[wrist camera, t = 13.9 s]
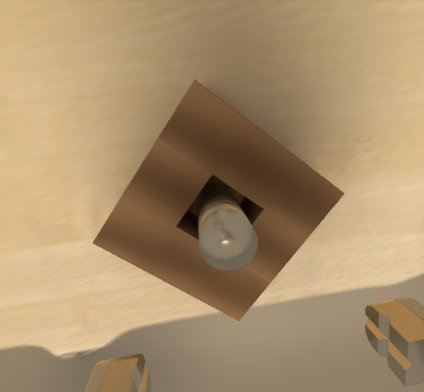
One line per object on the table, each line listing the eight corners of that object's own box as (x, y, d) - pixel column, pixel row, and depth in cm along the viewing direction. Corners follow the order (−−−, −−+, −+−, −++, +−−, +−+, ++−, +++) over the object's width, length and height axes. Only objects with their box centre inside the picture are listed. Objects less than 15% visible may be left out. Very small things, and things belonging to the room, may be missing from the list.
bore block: (194, 94, 26) (194, 79, 18) (304, 176, 29) (344, 193, 21) (119, 212, 29) (92, 243, 21) (227, 274, 32) (238, 320, 24)
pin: (210, 174, 26) (222, 206, 16) (239, 194, 27) (269, 236, 16) (189, 203, 27) (187, 252, 16) (218, 221, 28) (234, 279, 17)
